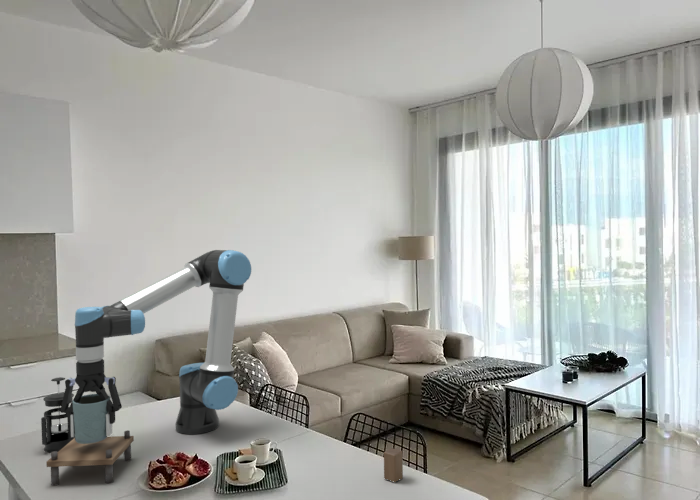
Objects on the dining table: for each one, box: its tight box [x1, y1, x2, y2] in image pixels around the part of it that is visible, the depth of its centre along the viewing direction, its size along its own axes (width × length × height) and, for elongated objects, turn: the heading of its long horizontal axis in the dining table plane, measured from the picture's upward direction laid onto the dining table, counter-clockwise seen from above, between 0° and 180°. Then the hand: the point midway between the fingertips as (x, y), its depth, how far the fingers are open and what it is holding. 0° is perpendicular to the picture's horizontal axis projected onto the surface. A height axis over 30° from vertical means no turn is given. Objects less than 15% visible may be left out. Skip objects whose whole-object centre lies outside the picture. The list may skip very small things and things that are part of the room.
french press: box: [40, 376, 75, 453], centre depth 182 cm, size 12×9×23 cm
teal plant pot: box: [72, 393, 111, 444], centre depth 163 cm, size 10×10×12 cm
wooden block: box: [383, 447, 404, 483], centre depth 155 cm, size 4×4×8 cm
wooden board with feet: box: [45, 430, 135, 486], centre depth 163 cm, size 18×18×9 cm
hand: (91, 434), depth 163 cm, fingers closed on teal plant pot, 9 cm apart
